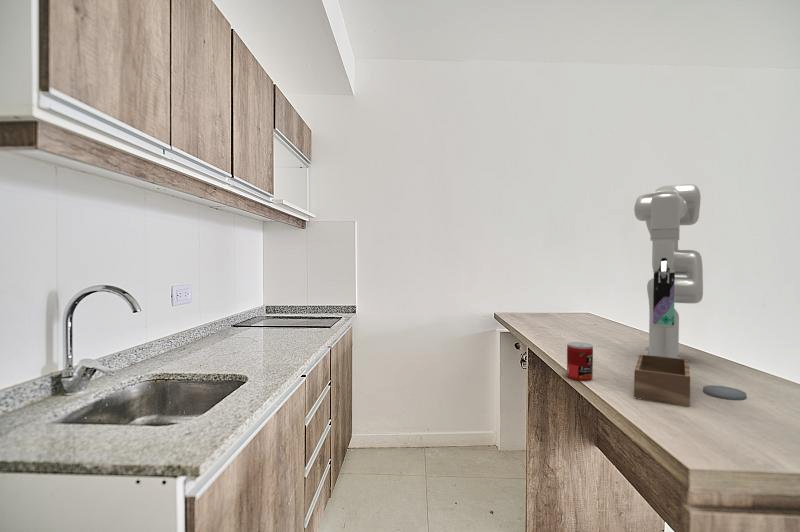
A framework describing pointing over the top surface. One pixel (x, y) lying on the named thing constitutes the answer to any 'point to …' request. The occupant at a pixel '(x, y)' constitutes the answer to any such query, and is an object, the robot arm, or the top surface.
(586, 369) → the canned food
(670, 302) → the spray can
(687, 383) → the wooden box
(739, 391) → the mat
